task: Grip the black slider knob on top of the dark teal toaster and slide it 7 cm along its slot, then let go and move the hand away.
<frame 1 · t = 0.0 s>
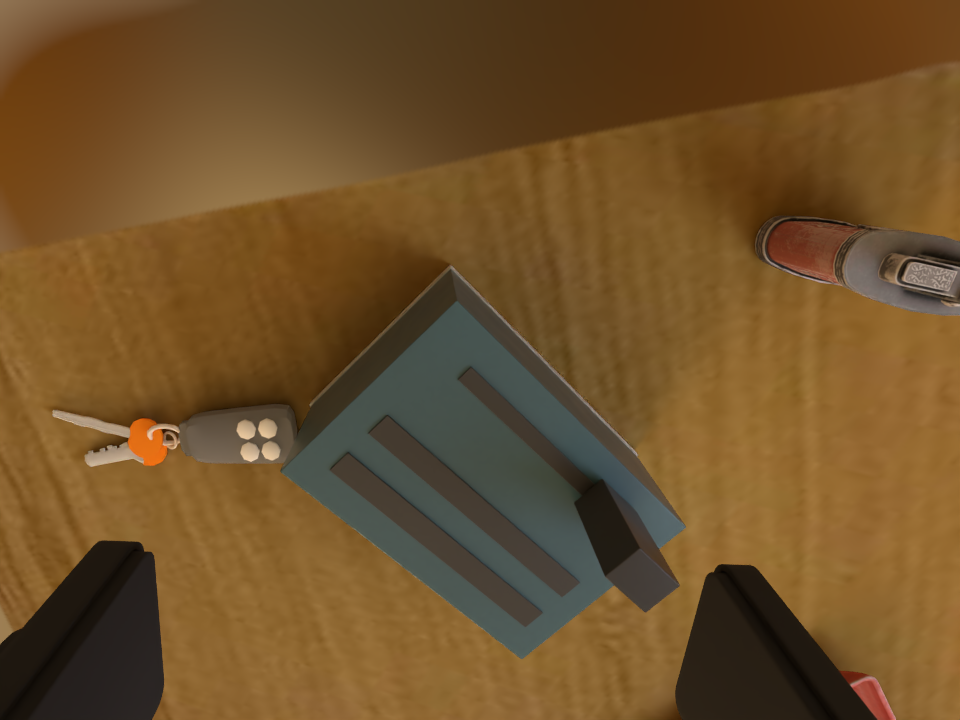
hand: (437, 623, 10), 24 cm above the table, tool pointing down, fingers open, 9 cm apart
toaster: (479, 427, 35), on the table
key chain: (183, 430, 34), on the table
lighter: (819, 249, 33), on the table
slider: (622, 540, 25), point 11 cm above the table, slide at 0.0 cm
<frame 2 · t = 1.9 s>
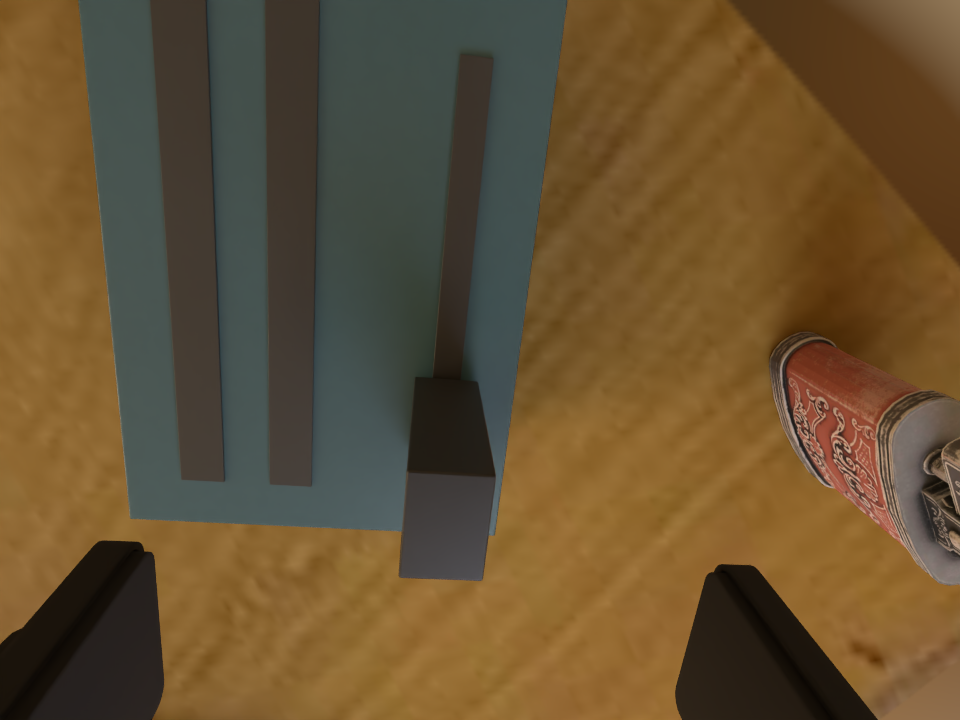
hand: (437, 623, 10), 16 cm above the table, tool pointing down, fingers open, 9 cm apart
toaster: (359, 231, 23), on the table
lighter: (813, 406, 27), on the table
slider: (444, 465, 15), point 11 cm above the table, slide at 0.0 cm
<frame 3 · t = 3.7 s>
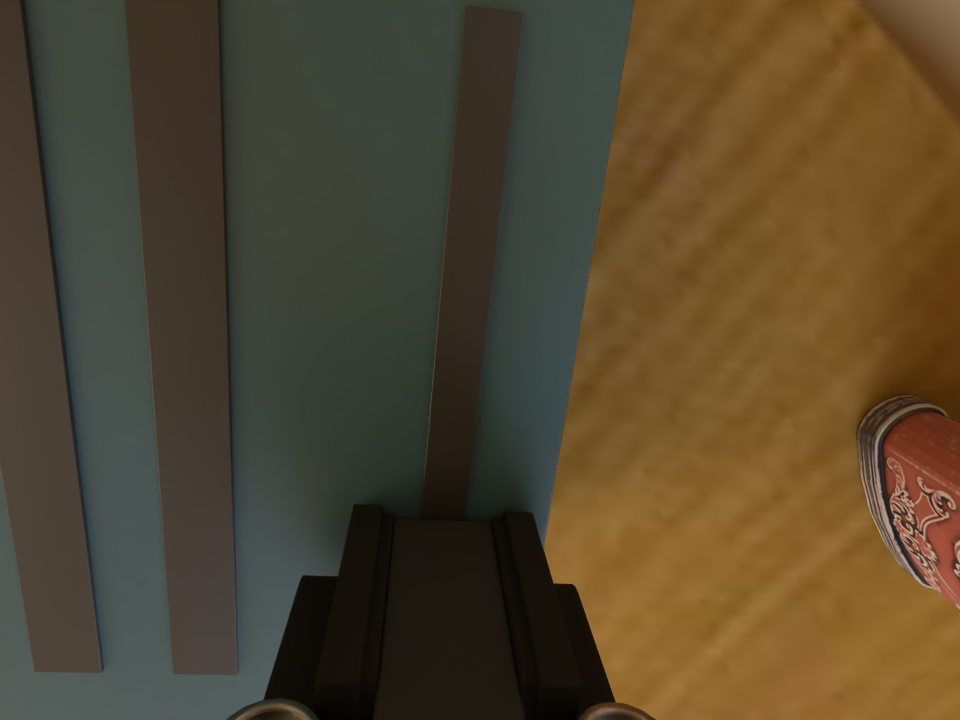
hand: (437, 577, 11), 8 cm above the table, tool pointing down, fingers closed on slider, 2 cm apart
toaster: (324, 272, 17), on the table
lighter: (908, 486, 22), on the table
slider: (439, 697, 9), point 11 cm above the table, slide at 0.0 cm, touching gripper
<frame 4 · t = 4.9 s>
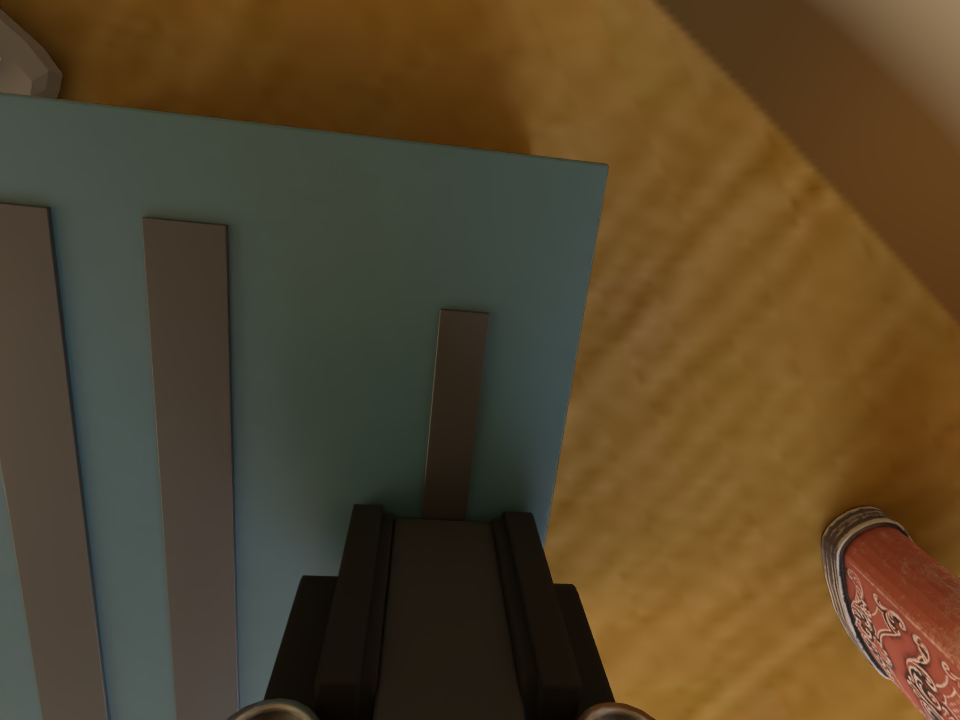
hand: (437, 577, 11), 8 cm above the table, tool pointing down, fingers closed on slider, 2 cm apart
toaster: (322, 408, 19), on the table
lighter: (871, 585, 23), on the table
slider: (439, 698, 9), point 11 cm above the table, slide at 4.4 cm, touching gripper
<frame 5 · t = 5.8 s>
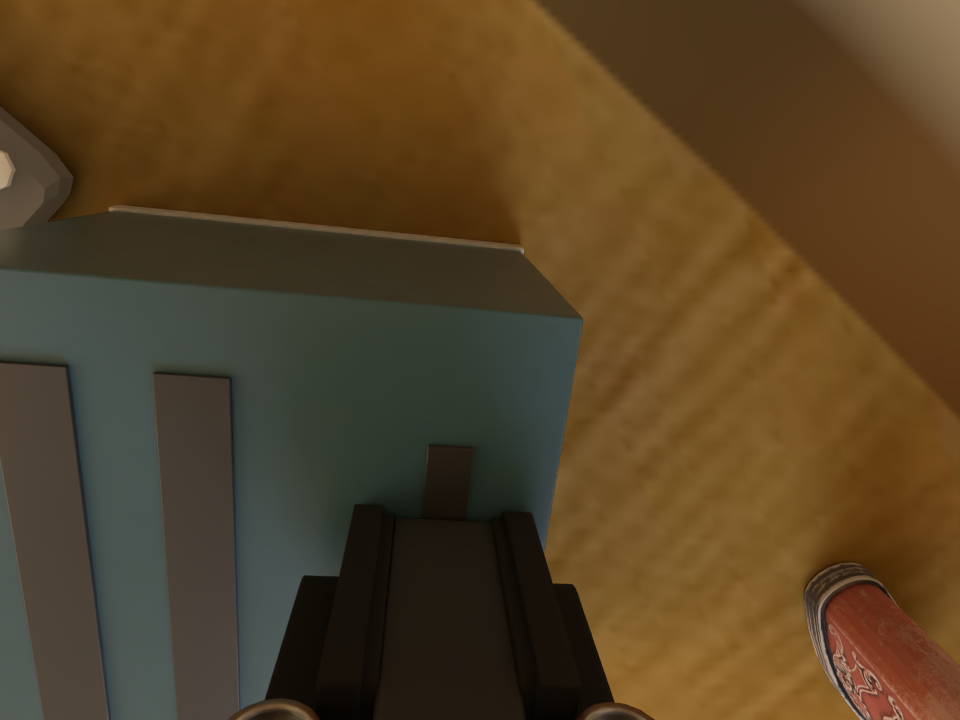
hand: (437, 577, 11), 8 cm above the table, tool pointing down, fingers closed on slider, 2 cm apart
toaster: (321, 476, 19), on the table
lighter: (853, 635, 24), on the table
slider: (439, 698, 9), point 11 cm above the table, slide at 6.8 cm, touching gripper
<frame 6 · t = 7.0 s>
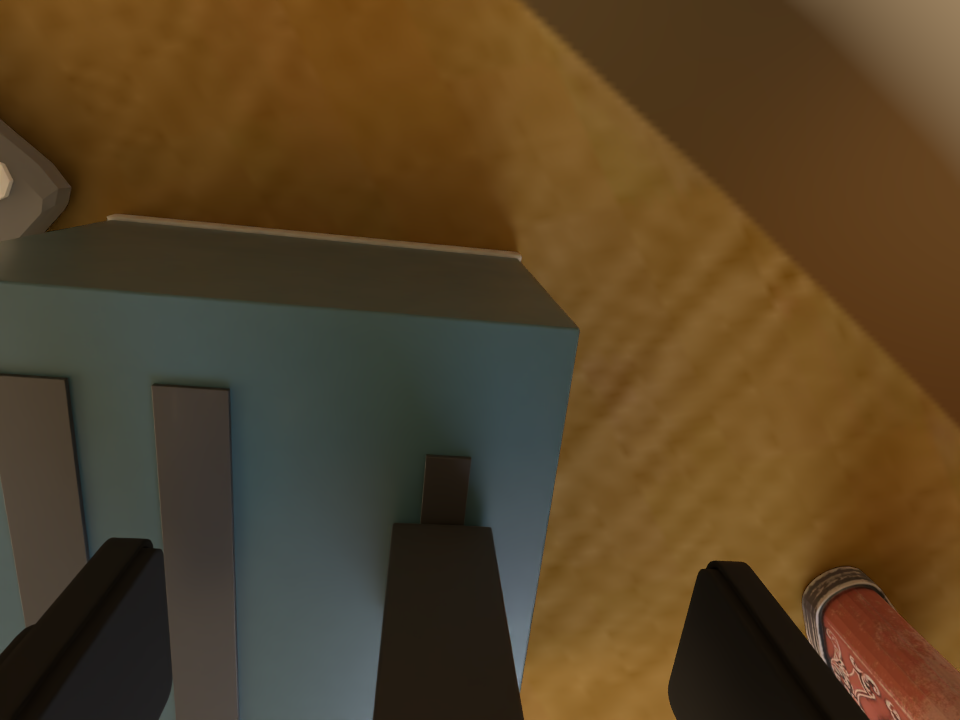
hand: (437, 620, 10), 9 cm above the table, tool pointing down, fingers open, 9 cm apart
toaster: (319, 483, 19), on the table
lighter: (851, 639, 24), on the table
slider: (438, 703, 9), point 11 cm above the table, slide at 6.9 cm
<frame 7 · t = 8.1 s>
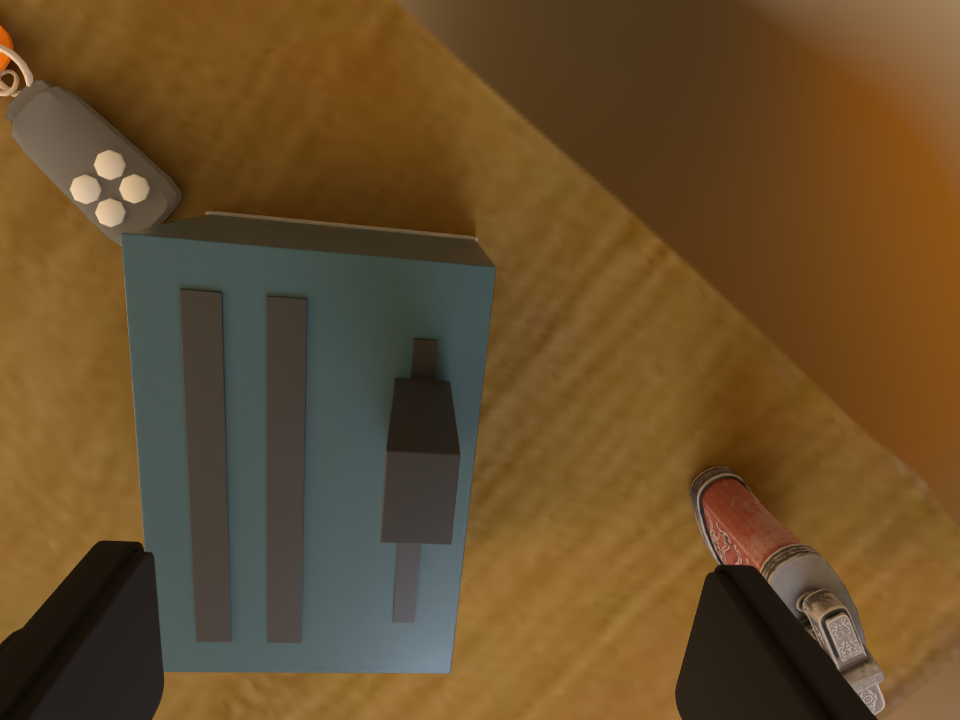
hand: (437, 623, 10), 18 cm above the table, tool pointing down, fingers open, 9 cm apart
toaster: (340, 399, 28), on the table
key chain: (33, 91, 23), on the table
lighter: (730, 524, 32), on the table
slider: (419, 451, 17), point 11 cm above the table, slide at 6.9 cm
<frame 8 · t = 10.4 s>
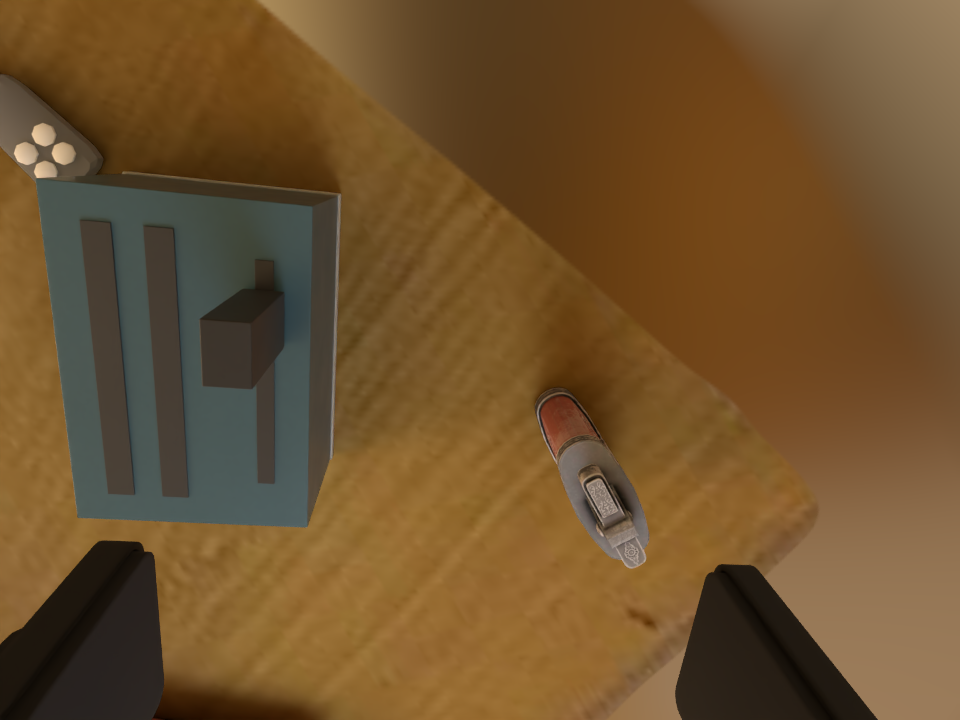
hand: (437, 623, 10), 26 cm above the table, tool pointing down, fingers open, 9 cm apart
toaster: (239, 326, 35), on the table
lighter: (572, 438, 39), on the table
slider: (246, 335, 24), point 11 cm above the table, slide at 6.9 cm
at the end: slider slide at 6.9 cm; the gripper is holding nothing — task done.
